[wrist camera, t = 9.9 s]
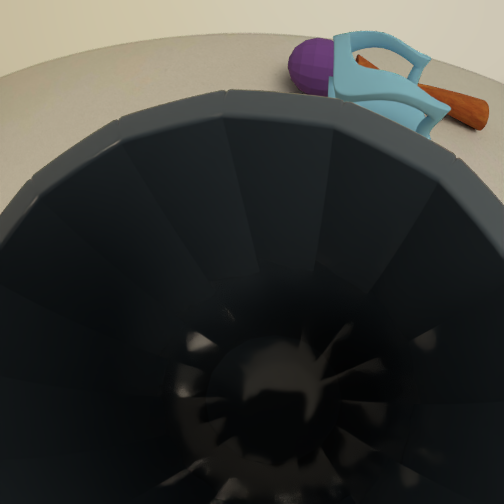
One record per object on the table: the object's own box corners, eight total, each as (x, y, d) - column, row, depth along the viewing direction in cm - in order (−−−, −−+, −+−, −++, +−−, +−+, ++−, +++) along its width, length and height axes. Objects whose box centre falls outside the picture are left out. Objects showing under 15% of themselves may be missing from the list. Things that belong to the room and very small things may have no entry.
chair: (415, 229, 22) (483, 107, 11) (305, 214, 23) (310, 73, 12) (407, 151, 25) (445, 33, 14) (313, 137, 26) (316, 10, 15)
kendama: (500, 122, 21) (283, 60, 23) (472, 152, 26) (283, 103, 29) (488, 78, 22) (294, 22, 24) (465, 109, 28) (293, 63, 30)
